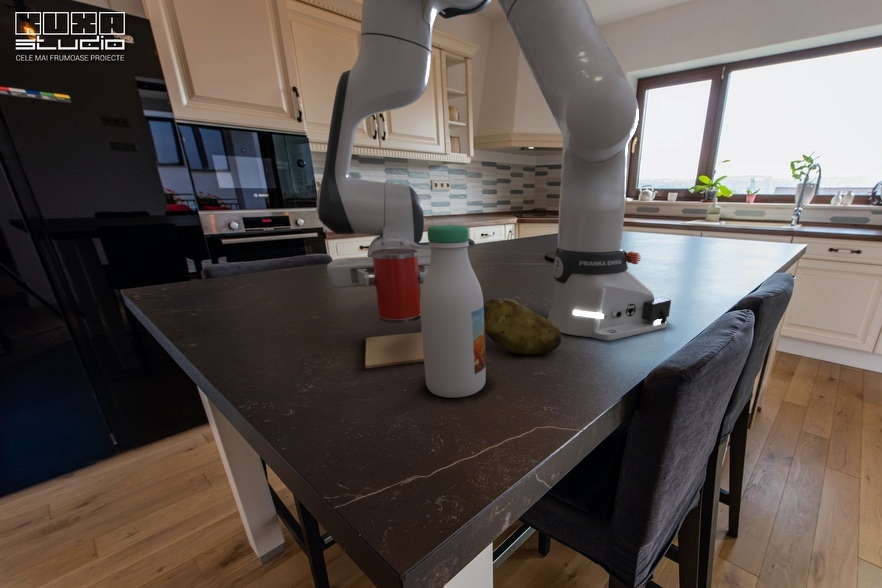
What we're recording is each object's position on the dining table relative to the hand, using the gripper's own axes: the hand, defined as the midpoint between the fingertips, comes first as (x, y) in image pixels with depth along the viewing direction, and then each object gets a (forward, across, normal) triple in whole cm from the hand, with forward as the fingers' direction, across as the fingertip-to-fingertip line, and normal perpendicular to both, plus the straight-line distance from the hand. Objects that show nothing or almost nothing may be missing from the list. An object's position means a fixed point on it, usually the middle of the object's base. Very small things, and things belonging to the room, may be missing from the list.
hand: (398, 279), depth 58 cm
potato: (+5, +17, +12) cm, 21 cm away
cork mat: (-1, 0, +11) cm, 11 cm away
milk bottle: (+14, +5, +12) cm, 19 cm away
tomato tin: (-1, 0, +6) cm, 6 cm away
